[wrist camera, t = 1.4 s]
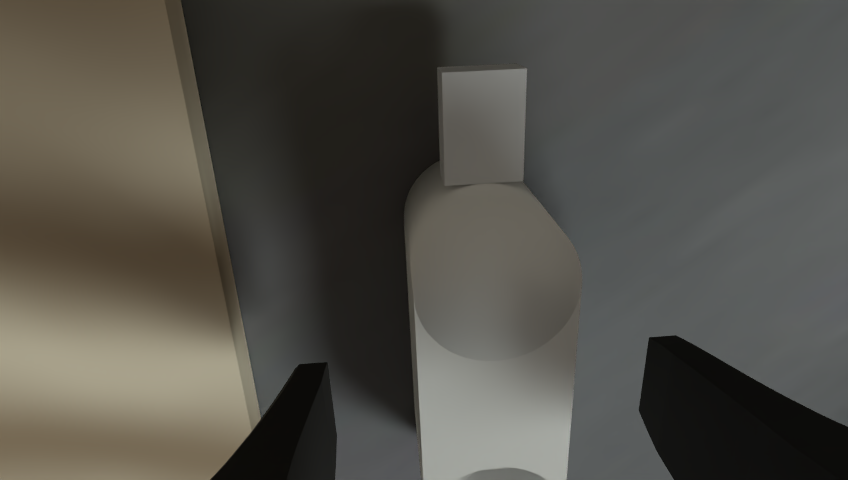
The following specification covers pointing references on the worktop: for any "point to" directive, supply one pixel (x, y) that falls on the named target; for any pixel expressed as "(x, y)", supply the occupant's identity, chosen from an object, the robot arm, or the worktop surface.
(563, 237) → the usb connector
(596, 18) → the worktop surface
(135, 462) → the wood pad
